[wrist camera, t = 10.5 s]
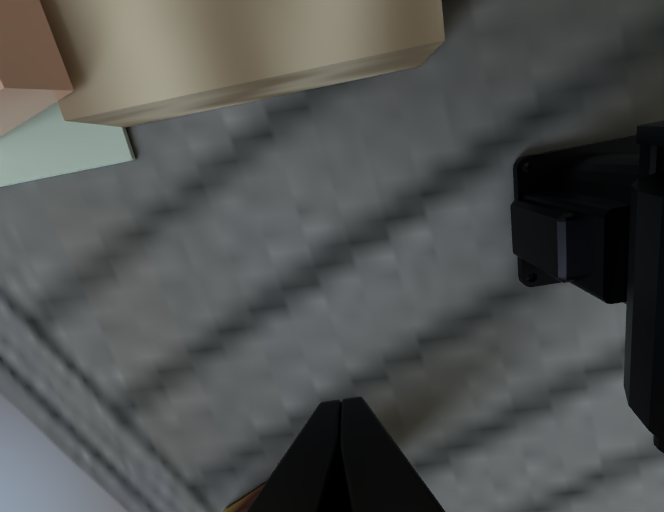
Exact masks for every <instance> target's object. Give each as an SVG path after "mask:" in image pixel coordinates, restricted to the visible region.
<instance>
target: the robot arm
mask: <svg viewBox="0 0 664 512" xmlns="http://www.w3.org/2000/svg"><path fill="white" fill-rule="evenodd" d="M526 162H527V163H529V169H528V170H527V172H524V171H523V169H522V167H523V165H524V164H525V163H526ZM513 178H514V198H515V200H514V201H513V203H512V204H511V225H512V244H513V253H514V254H515V255H517V257H518V277H519V280H520V281H521V282H522V283H523V284H524V285H526V286H528V287H535V286H541V285H548V284H554V283H560V282H563V283H565V282H570V283H572V284H574V285H575V286H577V287H579V288H581V289H582V290H584V291H586V292H588V293H590V294H591V295H593V296H595V297H597V298H598V299H600V300H602V301H604V302H605V303H607V304H614V303H620V302H623V303H625V304H627V309H626V336H625V363H624V389H625V393H626V397H627V401H628V405H629V407H630V408H631V409H632V410H633V411H634V413H635V414H636V415H637V416H638V418H639V419H640V420H641V421H642V423H643V424H644V425H645V426H646V428H647V429H648V430H649V431H650V432H651V433H652V434H654V435H653V442H654V445H655V446H656V447H657V448H658V449H659V450H660V451H661V452H663V453H664V121H660V122H655V123H649V124H644V125H639V126H637V134H636V135H635V136H630V137H624V138H619V139H613V140H608V141H603V142H597V143H592V144H587V145H581V146H576V147H571V148H565V149H560V150H555V151H549V152H544V153H539V154H533V155H528V156H523V157H520V158H519V159H517V160H516V162H515V163H514V166H513ZM531 273H533V277H532V278H531V279H529V280H527V277H528V275H529V274H531ZM246 512H445V510H444V509H443V508H442V506H441V505H440V503H439V502H438V501H437V499H436V498H435V497H434V495H433V494H432V492H431V491H430V490H429V488H428V487H427V486H426V484H425V483H424V481H423V480H422V479H421V477H420V476H419V475H418V473H417V472H416V470H415V469H414V468H413V466H412V465H411V464H410V462H409V461H408V459H407V458H406V457H405V455H404V454H403V453H402V451H401V450H400V448H399V447H398V446H397V444H396V443H395V442H394V440H393V439H392V437H391V436H390V435H389V433H388V432H387V431H386V429H385V428H384V426H383V425H382V424H381V422H380V421H379V420H378V418H377V417H376V415H375V414H374V413H373V411H372V410H371V409H370V407H369V406H368V404H367V403H366V402H365V400H364V399H363V398H362V397H352V398H346V399H343V400H342V402H341V401H340V400H332V401H325V402H321V403H320V404H319V405H318V407H317V408H316V410H315V411H314V413H313V414H312V416H311V417H310V418H309V420H308V421H307V423H306V424H305V426H304V427H303V429H302V430H301V432H300V433H299V435H298V436H297V438H296V439H295V441H294V442H293V443H292V445H291V446H290V448H289V449H288V451H287V452H286V454H285V455H284V457H283V458H282V460H281V461H280V463H279V464H278V466H277V467H276V468H275V470H274V471H273V473H272V474H271V476H270V477H269V479H268V480H267V482H266V483H265V485H264V486H263V488H262V489H261V491H260V492H259V493H258V495H257V496H256V498H255V499H254V501H253V502H252V504H251V505H250V507H249V508H248V510H247V511H246Z"/></svg>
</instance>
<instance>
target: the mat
mask: <svg viewBox="0 0 664 512" xmlns="http://www.w3.org/2000/svg"><path fill="white" fill-rule="evenodd" d="M132 160H136V159H135V156H134V153H133V149H132V146H131V143H130V140H129V137H128V134H127V131H126V128H124V127H115V126H106V125H97V124H88V123H79V122H70V121H64V118H63V115H62V113H61V110H60V107H59V104H58V102H55V103H54V104H52V105H50V106H49V107H47V108H46V109H44V110H42V111H41V112H39V113H38V114H36V115H34V116H33V117H31V118H30V119H28V120H26V121H25V122H23V123H22V124H20V125H18V126H17V127H15V128H14V129H12V130H10V131H9V132H7V133H6V134H4V135H2V136H1V137H0V187H3V186H8V185H13V184H18V183H23V182H28V181H33V180H38V179H43V178H48V177H53V176H58V175H63V174H68V173H73V172H77V171H82V170H87V169H92V168H97V167H102V166H107V165H112V164H117V163H122V162H127V161H132Z"/></svg>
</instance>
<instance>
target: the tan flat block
mask: <svg viewBox="0 0 664 512" xmlns="http://www.w3.org/2000/svg"><path fill="white" fill-rule="evenodd" d="M40 3H41V5H42V8H43V11H44V13H45V16H46V19H47V21H48V24H49V26H50V29H51V32H52V34H53V37H54V40H55V42H56V45H57V47H58V50H59V53H60V55H61V58H62V61H63V63H64V66H65V68H66V71H67V74H68V76H69V79H70V81H71V84H72V87H73V89H74V91H73V92H71V93H70V94H68V95H66V96H65V97H63V98H62V99H60V100H58V101H57V102H58V104H59V107H60V110H61V113H62V115H63V118H64V121H70V122H79V123H88V124H97V125H106V126H115V127H124V128H126V127H131V126H136V125H141V124H146V123H150V122H155V121H160V120H165V119H170V118H174V117H179V116H184V115H189V114H194V113H199V112H203V111H208V110H213V109H218V108H223V107H227V106H232V105H237V104H242V103H247V102H252V101H256V100H261V99H266V98H271V97H276V96H281V95H285V94H290V93H295V92H300V91H305V90H309V89H314V88H319V87H324V86H329V85H334V84H338V83H343V82H348V81H353V80H358V79H362V78H367V77H372V76H377V75H382V74H387V73H391V72H396V71H401V70H406V69H411V68H415V67H420V66H421V65H422V64H423V63H424V62H425V61H426V60H427V59H428V58H429V57H430V56H431V55H432V54H433V53H434V52H435V50H436V49H437V48H438V47H439V46H440V45H441V44H442V43H443V42H444V41H445V33H444V22H443V11H442V0H40Z"/></svg>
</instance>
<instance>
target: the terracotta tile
mask: <svg viewBox="0 0 664 512" xmlns="http://www.w3.org/2000/svg"><path fill="white" fill-rule="evenodd" d="M73 91H74V89H73V87H72V84H71V81H70V79H69V76H68V74H67V71H66V68H65V66H64V63H63V61H62V58H61V55H60V53H59V50H58V47H57V45H56V42H55V40H54V37H53V34H52V32H51V29H50V26H49V24H48V21H47V19H46V16H45V13H44V11H43V8H42V5H41V3H40V0H0V137H1V136H2V135H4V134H6V133H7V132H9V131H10V130H12V129H14V128H15V127H17V126H18V125H20V124H22V123H23V122H25V121H26V120H28V119H30V118H31V117H33V116H34V115H36V114H38V113H39V112H41V111H42V110H44V109H46V108H47V107H49V106H50V105H52V104H54V103H55V102H57V101H58V100H60V99H62V98H63V97H65V96H66V95H68V94H70V93H71V92H73Z"/></svg>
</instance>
